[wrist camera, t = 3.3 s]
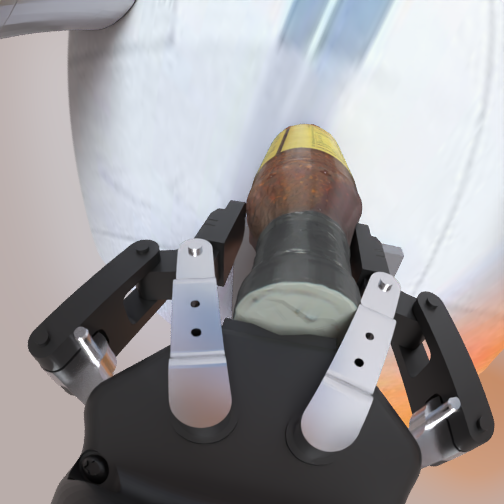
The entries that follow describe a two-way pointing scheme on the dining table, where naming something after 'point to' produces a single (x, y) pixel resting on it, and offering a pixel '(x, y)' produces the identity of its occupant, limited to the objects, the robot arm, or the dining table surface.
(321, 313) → the sauce bottle
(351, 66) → the dining table surface
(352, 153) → the dining table surface
